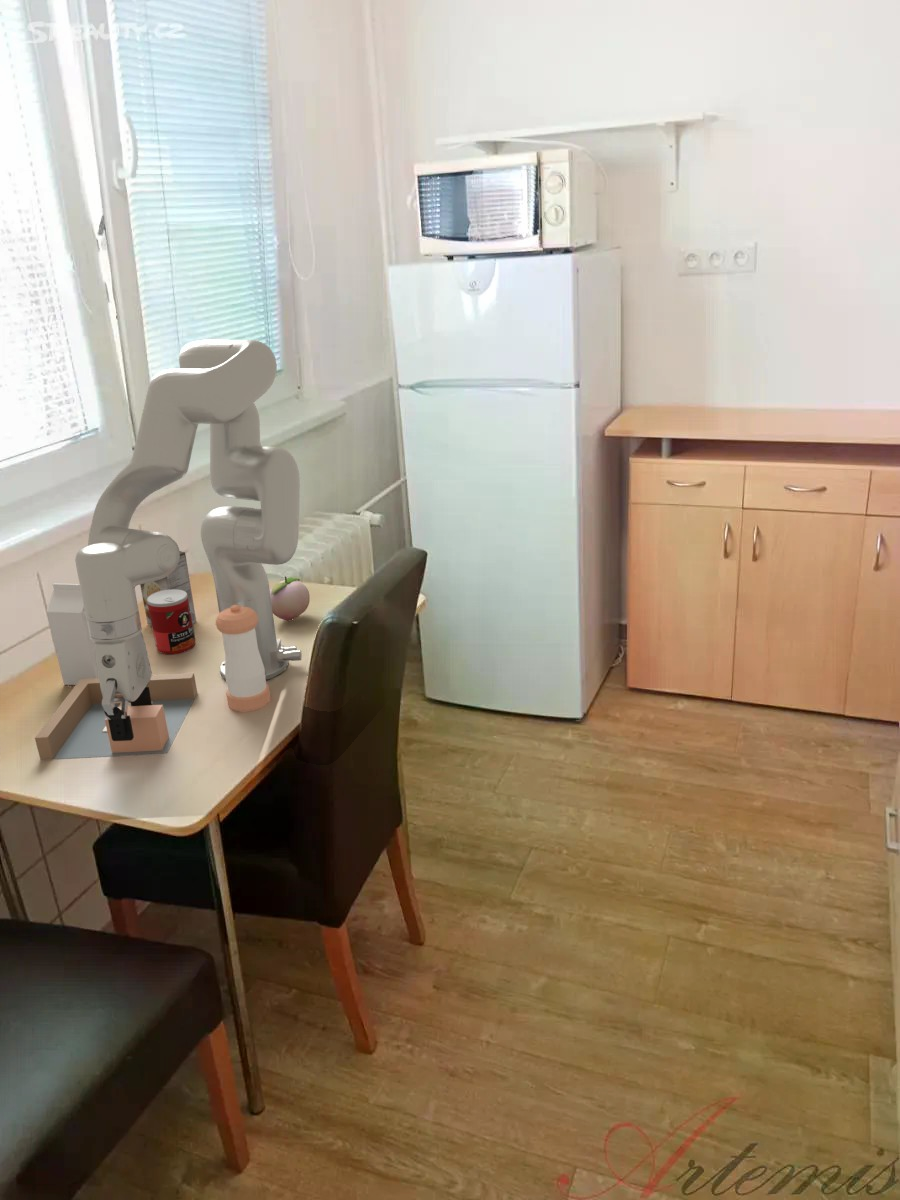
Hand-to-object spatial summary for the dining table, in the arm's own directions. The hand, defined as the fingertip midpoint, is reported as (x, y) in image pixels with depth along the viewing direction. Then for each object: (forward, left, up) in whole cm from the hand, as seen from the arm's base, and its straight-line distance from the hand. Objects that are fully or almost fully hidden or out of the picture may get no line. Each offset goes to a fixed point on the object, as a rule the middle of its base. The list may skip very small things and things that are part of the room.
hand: (133, 724), depth 145 cm
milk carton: (+18, -29, -6) cm, 34 cm away
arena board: (+5, -8, -5) cm, 10 cm away
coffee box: (+9, -53, -6) cm, 54 cm away
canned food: (+5, -41, -6) cm, 41 cm away
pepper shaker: (-15, -14, -6) cm, 21 cm away
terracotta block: (0, -1, -4) cm, 4 cm away
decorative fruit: (-17, -51, -6) cm, 54 cm away
